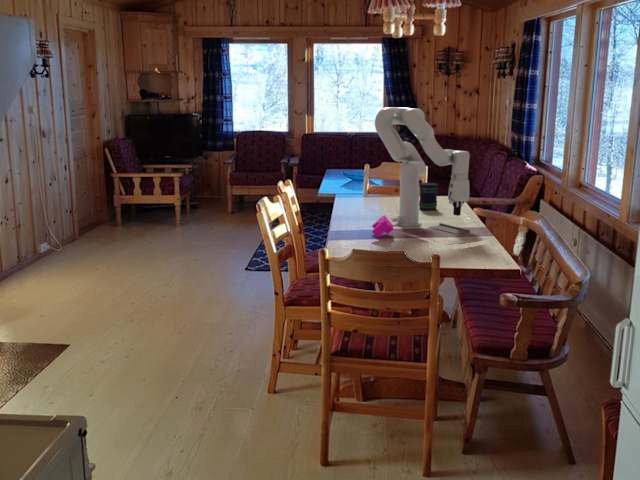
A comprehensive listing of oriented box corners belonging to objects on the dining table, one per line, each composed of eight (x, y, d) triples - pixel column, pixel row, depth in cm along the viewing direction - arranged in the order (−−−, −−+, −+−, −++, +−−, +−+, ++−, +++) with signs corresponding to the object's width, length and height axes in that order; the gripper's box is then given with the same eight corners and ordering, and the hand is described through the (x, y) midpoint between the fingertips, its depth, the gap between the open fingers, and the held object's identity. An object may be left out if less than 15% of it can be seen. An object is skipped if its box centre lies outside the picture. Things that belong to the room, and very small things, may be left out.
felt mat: (455, 234, 297) (455, 233, 297) (429, 227, 312) (429, 226, 312) (466, 232, 301) (466, 231, 301) (439, 226, 316) (439, 225, 316)
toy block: (392, 224, 302) (380, 235, 303) (384, 215, 301) (372, 225, 302) (393, 231, 287) (381, 242, 289) (384, 220, 286) (371, 231, 288)
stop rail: (468, 232, 301) (468, 230, 300) (439, 225, 317) (439, 223, 317) (470, 232, 301) (470, 229, 301) (440, 225, 318) (440, 223, 317)
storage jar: (423, 212, 355) (424, 185, 352) (416, 209, 364) (417, 182, 361) (439, 211, 358) (440, 184, 354) (432, 208, 367) (433, 182, 364)
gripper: (453, 178, 298) (450, 217, 302) (476, 177, 306) (473, 215, 310) (442, 176, 304) (439, 214, 308) (465, 175, 312) (462, 212, 316)
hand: (456, 215), depth 309 cm, fingers closed
